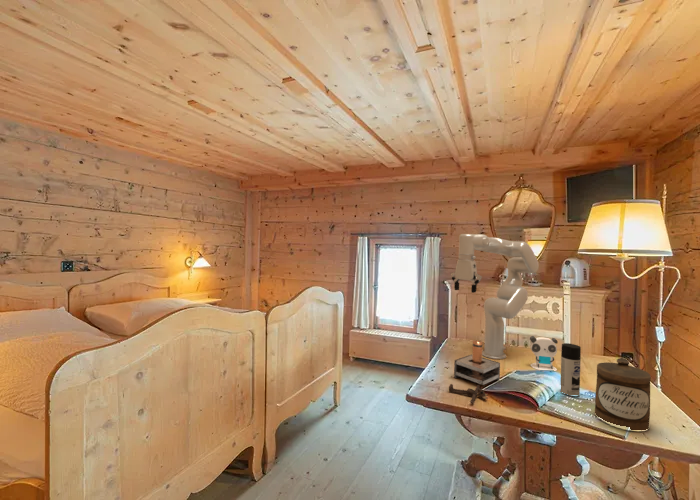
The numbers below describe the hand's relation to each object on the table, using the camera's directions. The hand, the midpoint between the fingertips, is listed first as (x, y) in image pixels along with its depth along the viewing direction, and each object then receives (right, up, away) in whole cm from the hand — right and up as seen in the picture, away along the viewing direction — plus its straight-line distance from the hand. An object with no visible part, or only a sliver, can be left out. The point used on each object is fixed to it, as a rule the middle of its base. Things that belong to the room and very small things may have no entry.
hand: (465, 291), depth 174 cm
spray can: (+31, -38, -35) cm, 60 cm away
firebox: (-2, -37, -22) cm, 43 cm away
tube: (-3, -37, -22) cm, 43 cm away
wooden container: (+35, -39, -56) cm, 77 cm away
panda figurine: (+37, -38, -6) cm, 53 cm away
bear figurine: (-12, -38, -39) cm, 55 cm away
